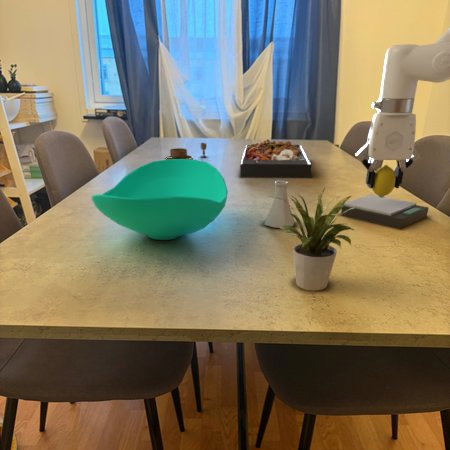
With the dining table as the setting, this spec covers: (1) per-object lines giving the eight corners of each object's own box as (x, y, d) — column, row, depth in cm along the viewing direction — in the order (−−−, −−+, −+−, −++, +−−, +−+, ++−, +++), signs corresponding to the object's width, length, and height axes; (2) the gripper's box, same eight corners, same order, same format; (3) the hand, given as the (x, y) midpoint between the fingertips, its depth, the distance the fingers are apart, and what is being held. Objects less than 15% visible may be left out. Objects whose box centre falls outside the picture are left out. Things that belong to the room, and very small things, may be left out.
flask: (299, 222, 105) (302, 180, 100) (287, 230, 99) (290, 187, 95) (272, 218, 108) (273, 177, 103) (259, 226, 103) (260, 183, 98)
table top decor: (213, 272, 78) (212, 200, 72) (69, 265, 82) (56, 195, 76) (236, 212, 113) (236, 159, 107) (134, 208, 117) (129, 158, 111)
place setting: (161, 158, 187) (160, 144, 184) (205, 156, 192) (205, 142, 190) (169, 165, 172) (168, 150, 170) (216, 162, 178) (216, 147, 175)
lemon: (370, 200, 106) (375, 166, 103) (368, 194, 111) (373, 162, 107) (393, 201, 105) (399, 167, 101) (391, 195, 110) (397, 163, 106)
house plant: (258, 300, 68) (262, 198, 61) (265, 266, 81) (268, 178, 73) (351, 306, 66) (366, 201, 59) (343, 271, 79) (355, 180, 71)
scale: (426, 216, 108) (429, 205, 107) (400, 229, 100) (402, 216, 98) (369, 204, 119) (370, 193, 117) (340, 215, 110) (342, 203, 109)
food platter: (310, 177, 150) (313, 146, 146) (240, 177, 152) (240, 146, 148) (301, 156, 190) (302, 131, 185) (245, 156, 192) (245, 131, 187)
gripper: (361, 108, 95) (351, 190, 104) (440, 108, 95) (423, 190, 103) (353, 106, 102) (344, 183, 110) (427, 106, 102) (412, 183, 110)
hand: (382, 186), depth 107 cm, fingers closed on lemon, 5 cm apart
